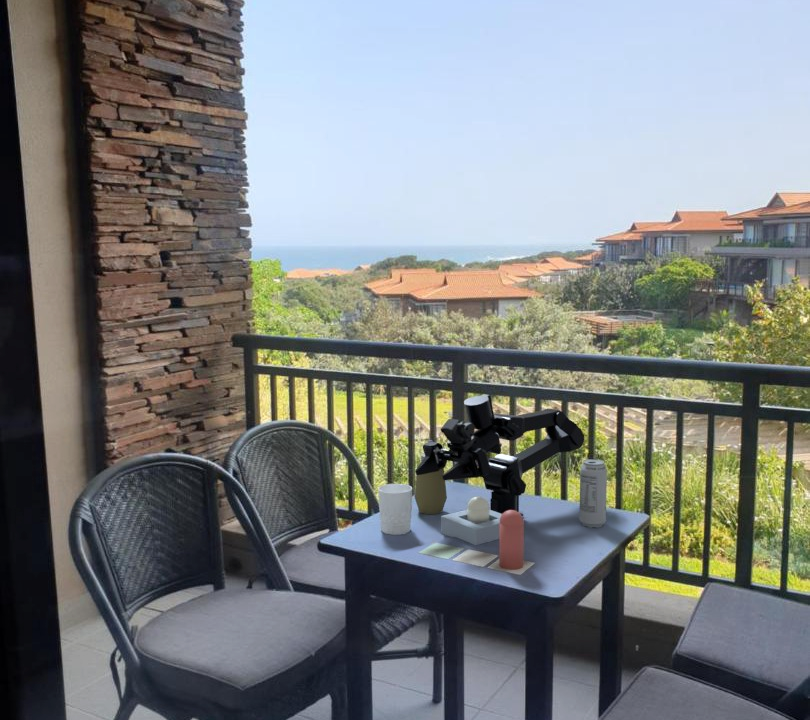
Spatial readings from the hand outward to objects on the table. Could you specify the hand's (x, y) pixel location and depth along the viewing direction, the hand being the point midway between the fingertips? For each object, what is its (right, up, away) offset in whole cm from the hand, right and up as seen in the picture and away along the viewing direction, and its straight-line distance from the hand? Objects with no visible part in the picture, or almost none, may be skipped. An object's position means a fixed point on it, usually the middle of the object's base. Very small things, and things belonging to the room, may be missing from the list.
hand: (429, 475), depth 176 cm
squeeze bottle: (+1, -12, +22) cm, 25 cm away
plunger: (+11, -11, +4) cm, 16 cm away
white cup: (-8, -14, +8) cm, 18 cm away
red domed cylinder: (+16, -16, -15) cm, 27 cm away
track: (+9, -16, -11) cm, 21 cm away
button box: (+11, -14, +5) cm, 19 cm away
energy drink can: (+39, -13, +11) cm, 42 cm away
